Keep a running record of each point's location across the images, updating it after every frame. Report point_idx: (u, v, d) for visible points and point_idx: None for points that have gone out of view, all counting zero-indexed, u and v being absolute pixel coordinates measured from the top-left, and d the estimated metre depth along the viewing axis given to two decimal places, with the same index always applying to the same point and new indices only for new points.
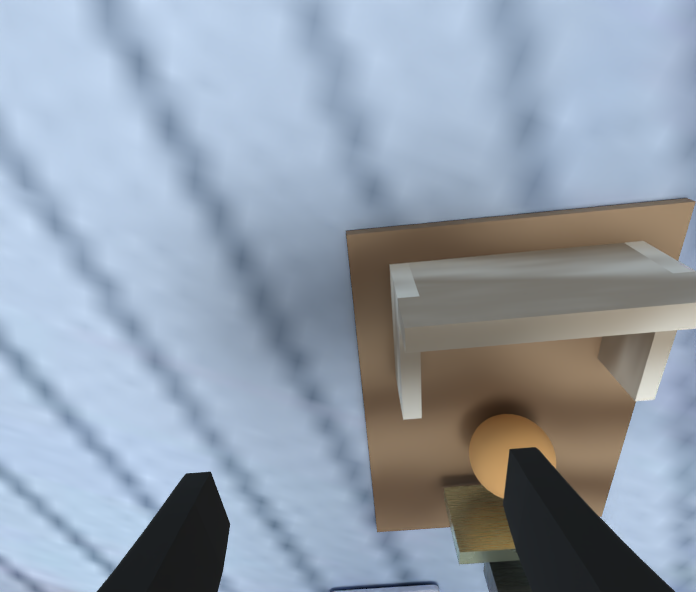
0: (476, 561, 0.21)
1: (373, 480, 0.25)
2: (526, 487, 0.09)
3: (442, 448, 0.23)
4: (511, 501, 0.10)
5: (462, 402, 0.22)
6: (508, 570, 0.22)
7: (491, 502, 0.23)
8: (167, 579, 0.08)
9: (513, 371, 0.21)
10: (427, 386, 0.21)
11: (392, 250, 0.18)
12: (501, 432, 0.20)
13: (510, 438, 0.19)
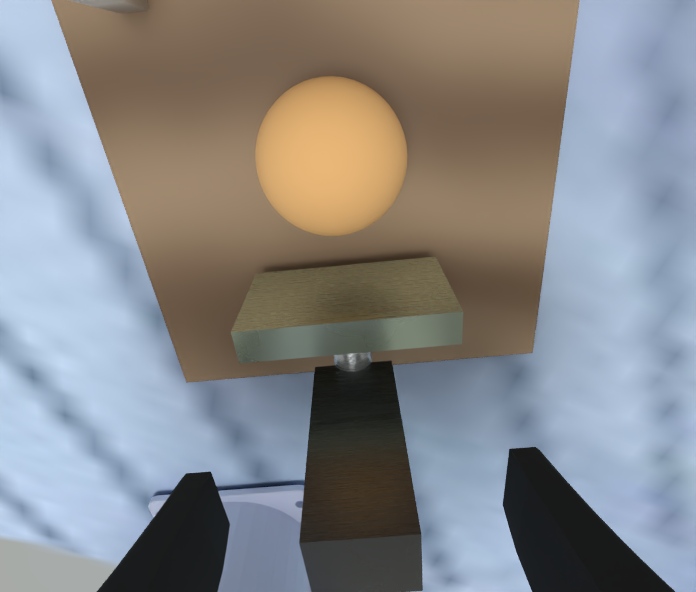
0: (269, 356, 0.11)
1: (151, 274, 0.15)
2: (526, 487, 0.09)
3: (248, 201, 0.14)
4: (511, 501, 0.10)
5: (258, 88, 0.12)
6: (341, 388, 0.12)
7: (322, 282, 0.13)
8: (167, 579, 0.08)
9: (336, 5, 0.11)
10: (186, 44, 0.12)
11: None
12: (295, 85, 0.10)
13: (305, 84, 0.10)
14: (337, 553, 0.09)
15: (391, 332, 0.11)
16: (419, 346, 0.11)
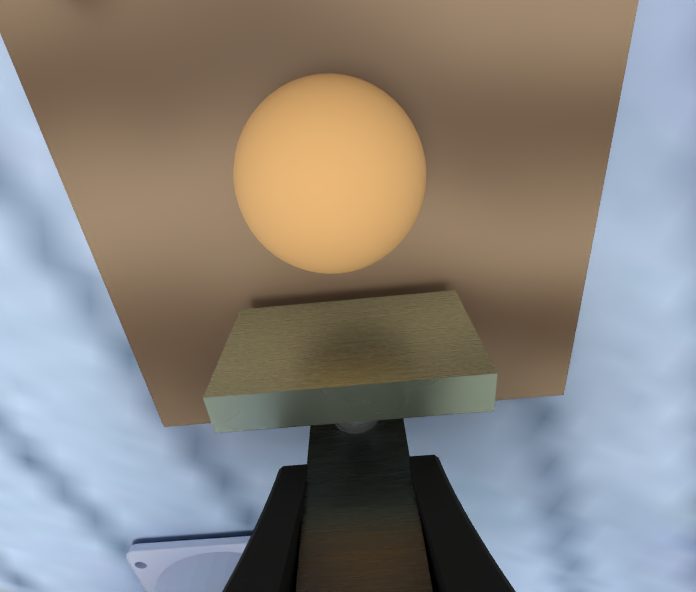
0: (251, 425, 0.09)
1: (117, 307, 0.13)
2: (415, 495, 0.09)
3: (231, 224, 0.11)
4: None
5: (241, 88, 0.10)
6: (343, 457, 0.10)
7: (320, 323, 0.11)
8: (290, 571, 0.08)
9: None
10: (149, 33, 0.09)
11: None
12: (283, 85, 0.08)
13: (296, 84, 0.08)
14: None
15: (405, 397, 0.09)
16: (439, 413, 0.09)
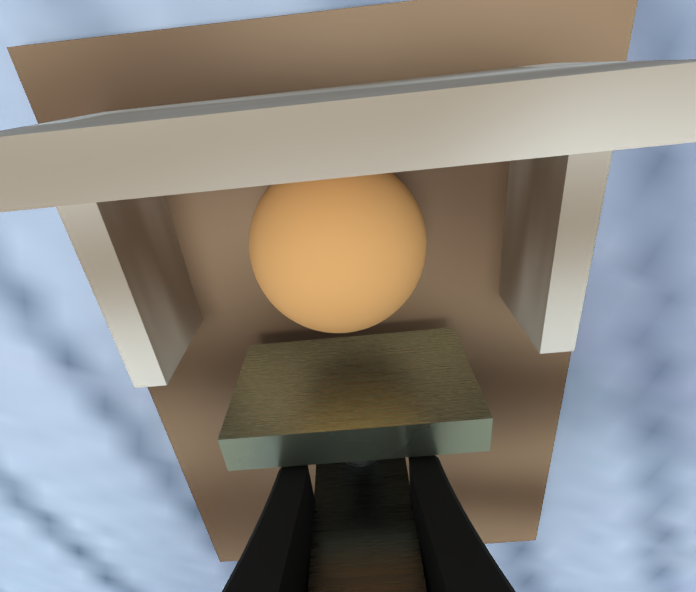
0: (263, 463, 0.10)
1: (192, 489, 0.17)
2: (415, 495, 0.09)
3: None
4: None
5: None
6: (347, 491, 0.11)
7: (325, 361, 0.11)
8: (290, 571, 0.08)
9: None
10: (233, 342, 0.13)
11: (102, 81, 0.10)
12: None
13: None
14: None
15: (407, 439, 0.09)
16: (438, 453, 0.10)
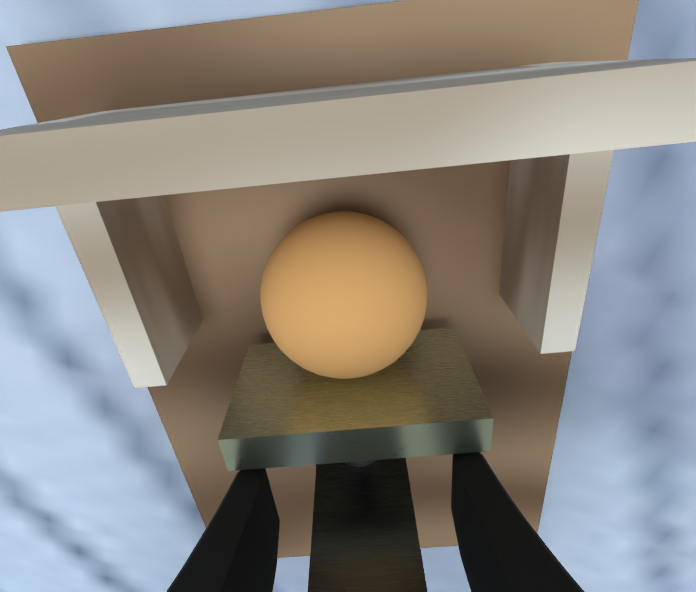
0: (262, 464, 0.10)
1: (192, 489, 0.17)
2: (463, 491, 0.09)
3: None
4: (455, 505, 0.10)
5: None
6: (348, 491, 0.11)
7: None
8: (236, 574, 0.08)
9: None
10: (233, 342, 0.13)
11: (101, 80, 0.10)
12: None
13: None
14: None
15: (407, 439, 0.09)
16: (439, 452, 0.10)
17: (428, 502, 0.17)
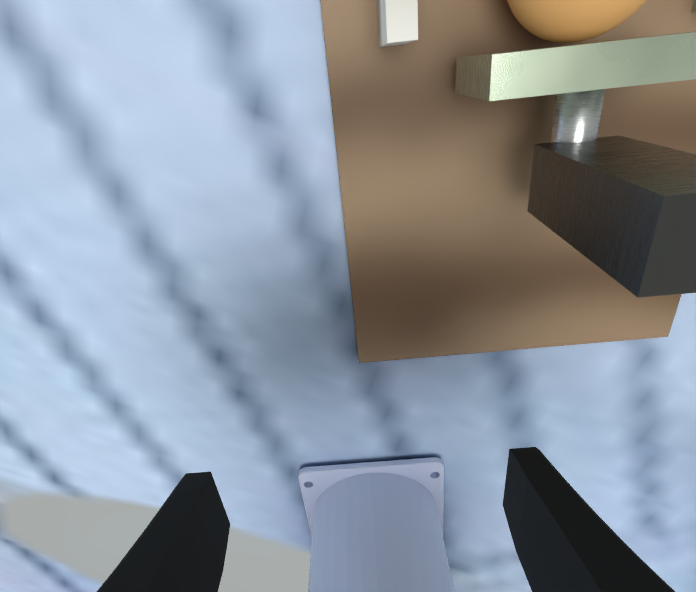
0: (524, 91, 0.10)
1: (351, 266, 0.17)
2: (526, 487, 0.09)
3: (449, 204, 0.16)
4: (511, 501, 0.10)
5: (480, 108, 0.14)
6: (583, 147, 0.11)
7: None
8: (167, 579, 0.08)
9: None
10: (427, 73, 0.14)
11: None
12: None
13: None
14: None
15: (668, 55, 0.10)
16: (691, 79, 0.10)
17: (573, 285, 0.18)
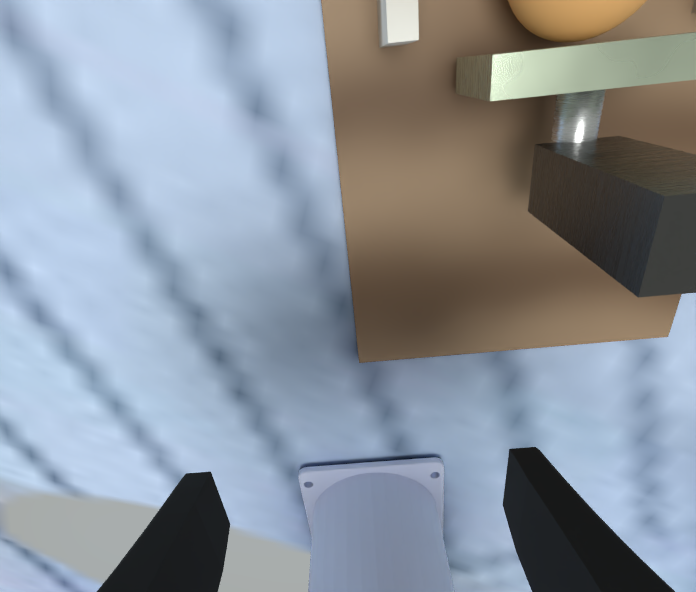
0: (525, 91, 0.10)
1: (351, 266, 0.17)
2: (526, 487, 0.09)
3: (449, 204, 0.16)
4: (511, 501, 0.10)
5: (480, 108, 0.15)
6: (583, 147, 0.11)
7: None
8: (167, 579, 0.08)
9: None
10: (428, 73, 0.14)
11: None
12: None
13: None
14: None
15: (669, 56, 0.10)
16: (691, 79, 0.10)
17: (573, 285, 0.18)
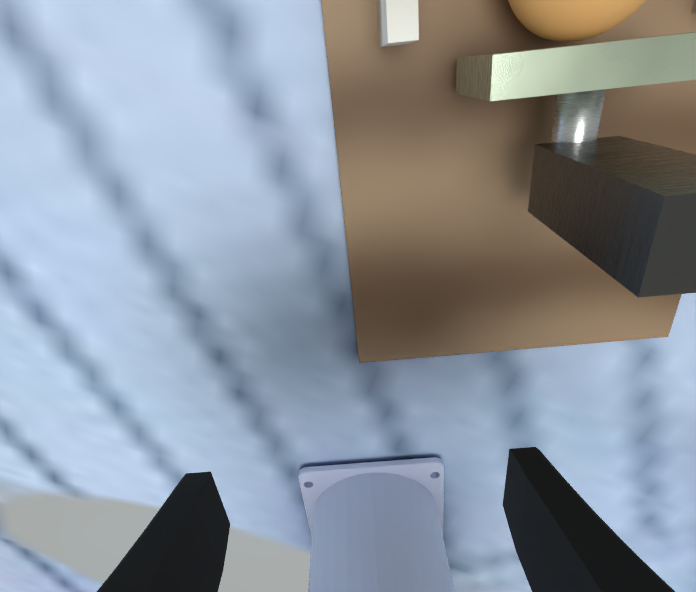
0: (525, 91, 0.10)
1: (351, 266, 0.17)
2: (526, 487, 0.09)
3: (449, 204, 0.16)
4: (511, 501, 0.10)
5: (480, 108, 0.15)
6: (583, 147, 0.11)
7: None
8: (167, 579, 0.08)
9: None
10: (428, 73, 0.14)
11: None
12: None
13: None
14: None
15: (669, 56, 0.10)
16: (691, 79, 0.10)
17: (573, 285, 0.18)
